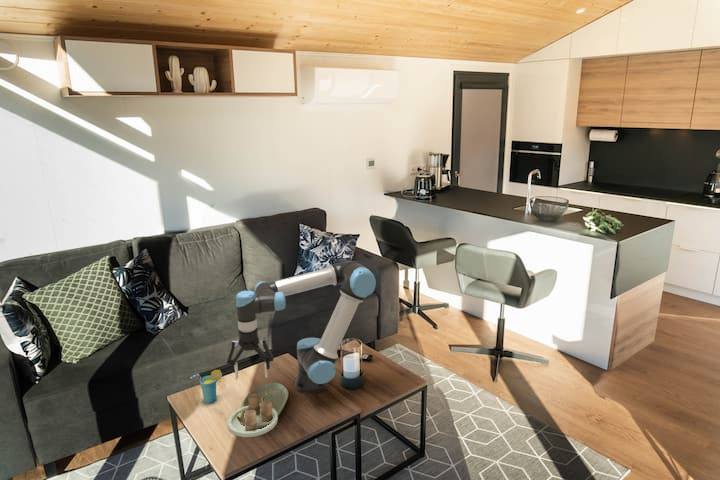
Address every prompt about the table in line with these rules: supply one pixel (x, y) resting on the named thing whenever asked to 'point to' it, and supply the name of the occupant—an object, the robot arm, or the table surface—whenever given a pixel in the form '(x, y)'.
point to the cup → (209, 385)
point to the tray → (240, 429)
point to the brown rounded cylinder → (266, 411)
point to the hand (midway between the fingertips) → (251, 376)
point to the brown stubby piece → (254, 403)
